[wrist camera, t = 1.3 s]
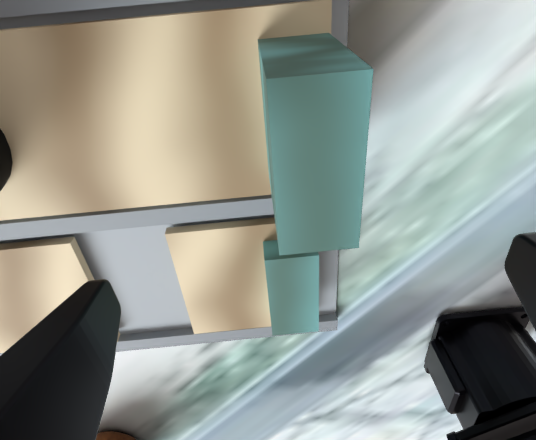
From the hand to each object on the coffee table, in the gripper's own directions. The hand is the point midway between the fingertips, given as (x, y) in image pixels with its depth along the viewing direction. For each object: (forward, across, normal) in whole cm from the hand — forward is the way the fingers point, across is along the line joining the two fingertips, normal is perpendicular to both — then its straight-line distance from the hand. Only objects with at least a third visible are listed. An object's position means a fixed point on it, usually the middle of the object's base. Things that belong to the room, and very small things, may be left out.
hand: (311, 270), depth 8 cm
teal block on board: (+11, +8, 0) cm, 13 cm away
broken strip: (+11, +9, +10) cm, 17 cm away
